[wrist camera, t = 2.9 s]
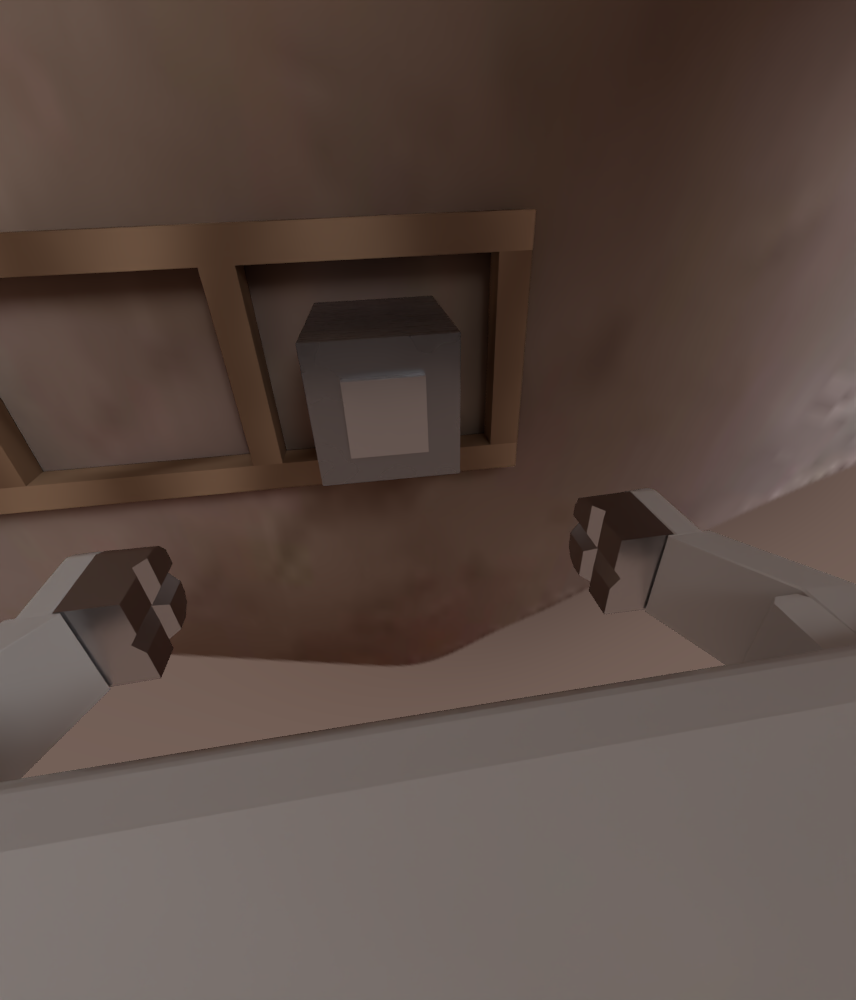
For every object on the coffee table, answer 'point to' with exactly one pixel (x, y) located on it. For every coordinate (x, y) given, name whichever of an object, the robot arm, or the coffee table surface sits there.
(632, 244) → the coffee table surface
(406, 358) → the gray rectangular block
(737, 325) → the coffee table surface
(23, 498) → the divided wooden frame
